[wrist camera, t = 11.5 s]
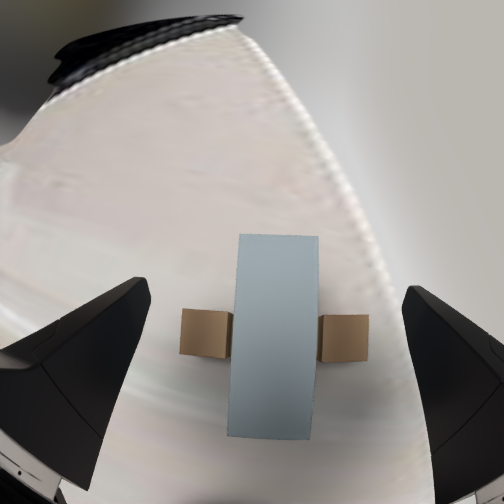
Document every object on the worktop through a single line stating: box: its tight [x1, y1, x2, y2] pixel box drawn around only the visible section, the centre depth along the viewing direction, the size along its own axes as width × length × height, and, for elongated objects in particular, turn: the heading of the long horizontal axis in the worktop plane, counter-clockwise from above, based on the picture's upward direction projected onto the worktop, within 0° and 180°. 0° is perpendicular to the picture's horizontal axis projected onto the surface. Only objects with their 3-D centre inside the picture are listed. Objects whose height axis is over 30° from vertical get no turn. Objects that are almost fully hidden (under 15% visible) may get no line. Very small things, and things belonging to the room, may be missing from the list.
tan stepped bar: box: [179, 309, 369, 362], centre depth 19 cm, size 12×3×4 cm, turn 87°
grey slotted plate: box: [227, 234, 319, 440], centre depth 16 cm, size 9×4×10 cm, turn 177°
